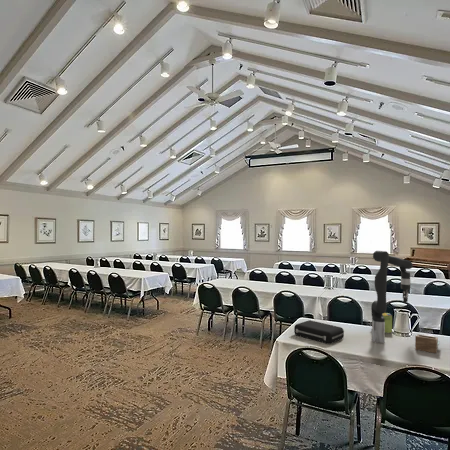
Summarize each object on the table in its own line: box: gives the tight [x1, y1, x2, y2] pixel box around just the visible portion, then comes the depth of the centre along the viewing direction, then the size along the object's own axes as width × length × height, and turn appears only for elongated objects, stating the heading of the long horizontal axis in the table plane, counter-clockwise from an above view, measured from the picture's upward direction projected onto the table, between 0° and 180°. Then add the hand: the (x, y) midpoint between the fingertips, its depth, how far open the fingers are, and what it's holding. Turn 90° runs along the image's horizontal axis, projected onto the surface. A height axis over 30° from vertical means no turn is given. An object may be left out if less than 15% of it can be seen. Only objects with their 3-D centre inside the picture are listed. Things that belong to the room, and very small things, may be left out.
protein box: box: [371, 312, 393, 334], centre depth 324 cm, size 10×15×16 cm
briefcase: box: [293, 319, 345, 345], centre depth 306 cm, size 36×32×10 cm
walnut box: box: [414, 334, 439, 354], centre depth 276 cm, size 16×14×10 cm
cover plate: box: [422, 333, 440, 345], centre depth 293 cm, size 14×14×6 cm
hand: (405, 302), depth 306 cm, fingers open, 8 cm apart
